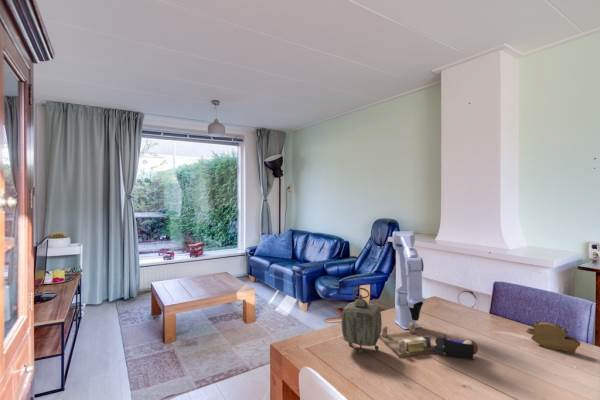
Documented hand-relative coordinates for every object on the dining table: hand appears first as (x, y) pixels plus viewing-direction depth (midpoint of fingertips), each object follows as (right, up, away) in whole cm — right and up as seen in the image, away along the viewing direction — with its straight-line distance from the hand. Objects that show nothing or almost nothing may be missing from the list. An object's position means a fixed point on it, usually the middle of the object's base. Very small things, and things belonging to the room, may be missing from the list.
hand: (415, 319), depth 130 cm
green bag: (-23, -11, -5) cm, 26 cm away
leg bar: (-1, -9, -5) cm, 10 cm away
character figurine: (+11, -10, -11) cm, 18 cm away
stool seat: (-3, -10, 0) cm, 10 cm away
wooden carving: (+51, -9, -7) cm, 52 cm away
